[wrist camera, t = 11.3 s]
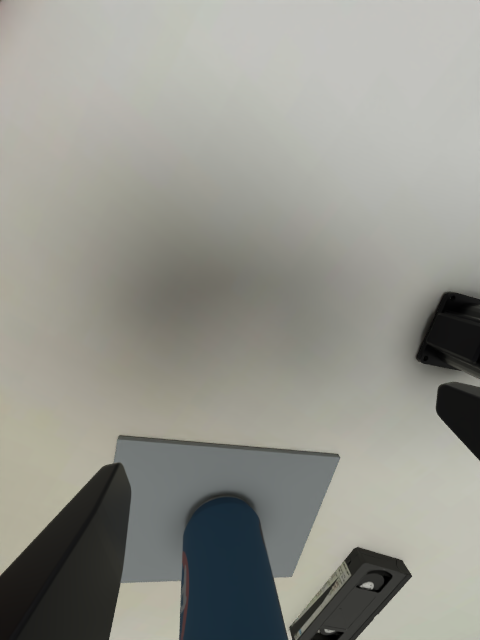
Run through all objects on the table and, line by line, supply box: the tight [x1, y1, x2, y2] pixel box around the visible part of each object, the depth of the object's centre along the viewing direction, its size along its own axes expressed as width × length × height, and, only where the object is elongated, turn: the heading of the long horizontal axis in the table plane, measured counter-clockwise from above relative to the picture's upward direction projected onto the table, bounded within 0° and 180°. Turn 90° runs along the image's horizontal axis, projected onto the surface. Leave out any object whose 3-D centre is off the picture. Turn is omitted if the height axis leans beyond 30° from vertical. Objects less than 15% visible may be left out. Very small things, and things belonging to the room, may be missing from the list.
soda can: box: [179, 495, 288, 640], centre depth 19 cm, size 7×7×12 cm
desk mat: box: [114, 436, 340, 583], centre depth 25 cm, size 20×16×1 cm
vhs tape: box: [290, 547, 412, 640], centre depth 31 cm, size 14×8×2 cm, turn 149°
